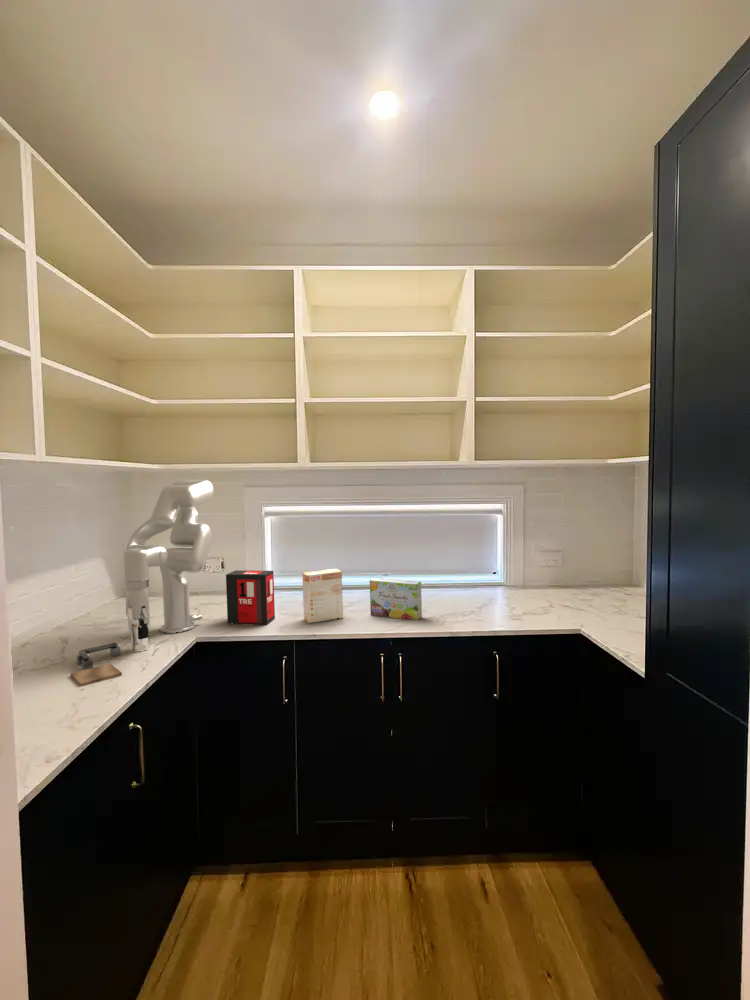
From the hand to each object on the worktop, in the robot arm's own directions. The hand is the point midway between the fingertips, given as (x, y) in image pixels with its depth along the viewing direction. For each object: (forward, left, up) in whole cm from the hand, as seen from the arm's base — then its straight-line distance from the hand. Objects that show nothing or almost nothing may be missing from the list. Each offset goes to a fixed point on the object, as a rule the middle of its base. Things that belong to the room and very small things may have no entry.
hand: (139, 635), depth 177 cm
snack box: (-88, +38, -5) cm, 96 cm away
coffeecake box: (-66, +18, -5) cm, 69 cm away
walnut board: (+18, +15, -5) cm, 24 cm away
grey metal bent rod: (+13, +3, -5) cm, 14 cm away
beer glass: (0, 0, -5) cm, 5 cm away
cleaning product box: (-44, -1, -5) cm, 44 cm away
